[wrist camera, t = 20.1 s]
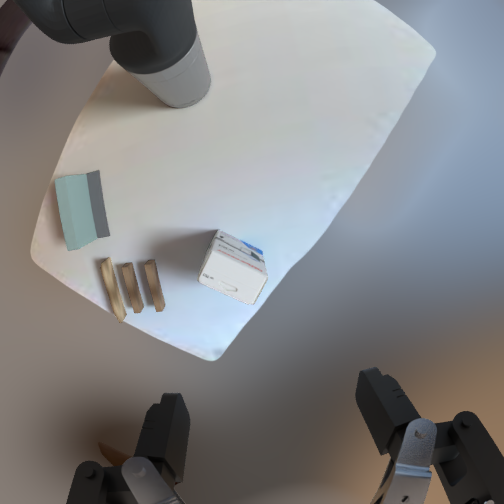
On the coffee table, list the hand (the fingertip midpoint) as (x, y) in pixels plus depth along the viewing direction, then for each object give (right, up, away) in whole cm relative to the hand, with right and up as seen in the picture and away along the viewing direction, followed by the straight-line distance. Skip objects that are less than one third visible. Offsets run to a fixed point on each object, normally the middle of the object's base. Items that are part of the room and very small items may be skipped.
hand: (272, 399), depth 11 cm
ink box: (-4, +6, +36) cm, 37 cm away
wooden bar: (-27, 0, +37) cm, 46 cm away
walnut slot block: (-20, 0, +37) cm, 42 cm away
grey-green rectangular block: (-32, +19, +26) cm, 45 cm away
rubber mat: (-31, +15, +32) cm, 47 cm away
